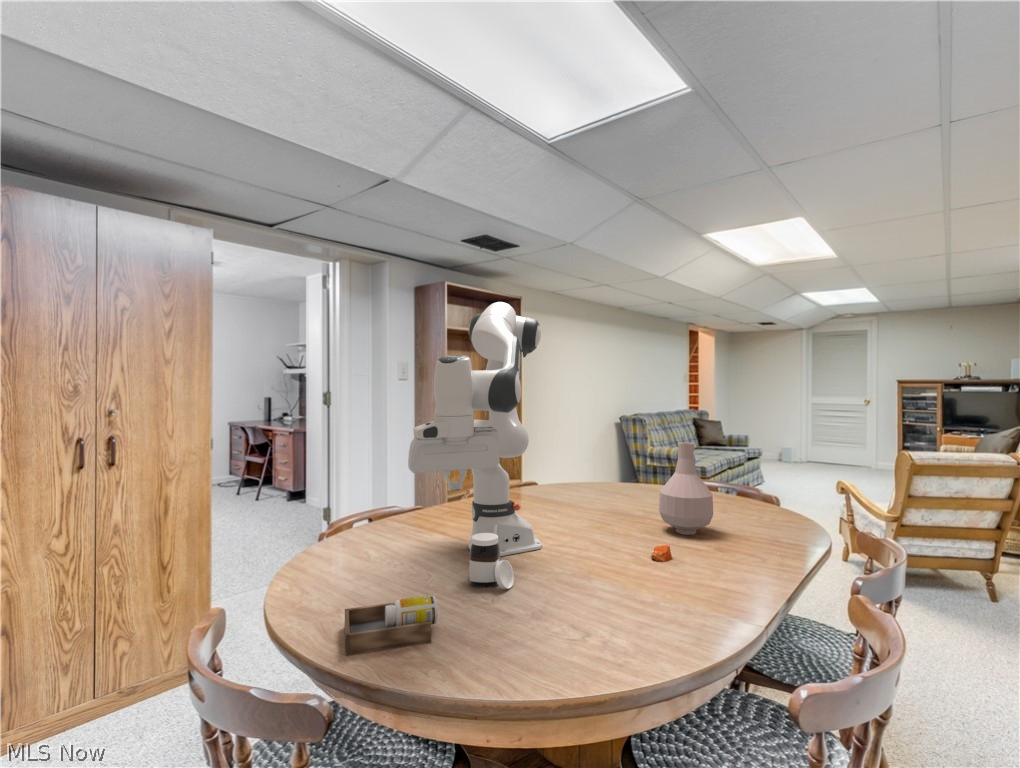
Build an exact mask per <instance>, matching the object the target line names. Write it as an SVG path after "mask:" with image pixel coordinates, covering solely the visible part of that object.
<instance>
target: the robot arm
mask: <svg viewBox="0 0 1020 768" xmlns="http://www.w3.org/2000/svg"><path fill="white" fill-rule="evenodd" d="M468 337H469V341H470V342H471V344H472V346H473V348H474V350H475V352H477V354H479V356H480V357H482V358H484V359H486V360H487V364H486V368H485V370H484V369H482V370H481V369H480V370H476V369H475V370H473V367H472V366H473V365H472V362H471V358H470V357H469V356H468V355H465V354H453V355H445V356H442V357H439V358H438V359H437V360H436V363H435V368H434V373H433V374H434V376H433V397H434V400H435V409H434V411H433V420H431V421H428V422H426V423H422V424H420V425H417V426H415V427H414V428H413V436H414V438H413V439H412V440H411V441H410V444H409V450H408V458H407V459H408V461H407V462H408V463H407V464H408V465H407V466H408V469H409V470H410V472H411V473H413V474H420V473H433V472H434V473H436V472H442V476H443V478H444V479H445V481H446V482H447V491H449V492H451V491H463V482H464V481H465V479H466V477H467V475H468V470H471V473H472V482H473V484H472V485H473V501H472V503H471V505H472V506H471V519H472V528H471V534H470V539H469V543H468V546H467V547H468V549H469V550H470V548H471V545H472V536H473V535H474V534H478V533H493V534H496V535H498V545H499V548H500V557H504V556H508V555H509V556H510V555H514V554H519V553H521V554H522V553H527V552H531V551H535V550H540V549H542V546H543V545H542V542H541V540H540V539H539V538H537V536H535V534H534V529H533V526H532V525H531V523H530V522H529V521H528V520H527V519H525V518H524V517H522V516H521V515H520V514H518V513H517V512H518V511H520V509H521V505H520V504H519V503H518V502H514V501H513V500H511V499H510V475H509V473H508V472H507V471H506V470H505V468H503V467H502V466H501V464H500V458H503V459H510V458H515V457H516V458H517V457H520V456H522V455H523V454H524V453H525V452H526V451H527V449H528V447H529V445H528V444H529V440H530V439H529V434H528V431H527V429H526V428H525V426H523V424H522V423H521V421H520V419H519V415H518V410H517V407H518V405H519V404H520V402H521V398H522V386H521V385H522V384H521V376H522V375H521V373H522V370H521V369H522V358H526V357H527V355H530V354H531V353H532V352H534V351H535V350H536V349H537V348H538V345H539V343H540V341H541V338H542V331H541V327H540V323H539V321H538V320H536V319H535V318H532V317H528V316H527V317H524V316H520V315H517V313H516V311H515V308H514V307H513V306H511V305H510V304H509V303H506V302H503V301H497V302H493V303H491V304H490V305H488V306H487V307H486V308H485V309H484V311H483V312H480V313H476V314H475V315H474V316H472V318H471V320H470V322H469V326H468ZM475 411H476V412H488V413H489V415H488V418H489V419H475V413H474V412H475ZM452 471H458V474H460V475H459V477H458V479H457V480H451V478H450V476H452V475H451V472H452ZM516 511H517V512H516Z"/></svg>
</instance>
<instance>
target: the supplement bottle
mask: <svg viewBox="0 0 1020 768" xmlns="http://www.w3.org/2000/svg"><path fill="white" fill-rule="evenodd" d="M394 603H395V605H388V606H385V623H386V627H390V626H391V627H392V626H394V625H395V626H403V625H410V624H417V623H424V622H431V625H435V624H437V623H438V621H439V605H438V601H437V597H436V596H435V595H432V594H431V595H430V594H429V595H424V596H417V597H409V598H402V599H397V600H395V602H394Z"/></svg>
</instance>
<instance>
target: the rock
mask: <svg viewBox="0 0 1020 768" xmlns="http://www.w3.org/2000/svg"><path fill="white" fill-rule="evenodd" d="M650 558H651V559H653V560H655V561H656V562H662V563H666V562H669V561H670V560H673V555H672V552H671V546H670V544H663V545H655V547H654V548H653V551H652V552H651V556H650Z"/></svg>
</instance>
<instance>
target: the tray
mask: <svg viewBox="0 0 1020 768" xmlns="http://www.w3.org/2000/svg"><path fill="white" fill-rule="evenodd" d="M388 605H395V602H387V603H381V604H374V605H367V606H358V607H352V608H351V607H350V608H344V655H345V657H349V656H354V655H355V656H357V655H363V654H368V653H375V652H381V651H387V650H393V649H394V650H395V649H399V648H406V647H411V646H413V647H414V646H420V645H424V644H431V643H432V624H431V622H424V623H417V624H410V625H403V626H395V625H394V626H392V627H391V626H390V627H386V623H385V606H388Z"/></svg>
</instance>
